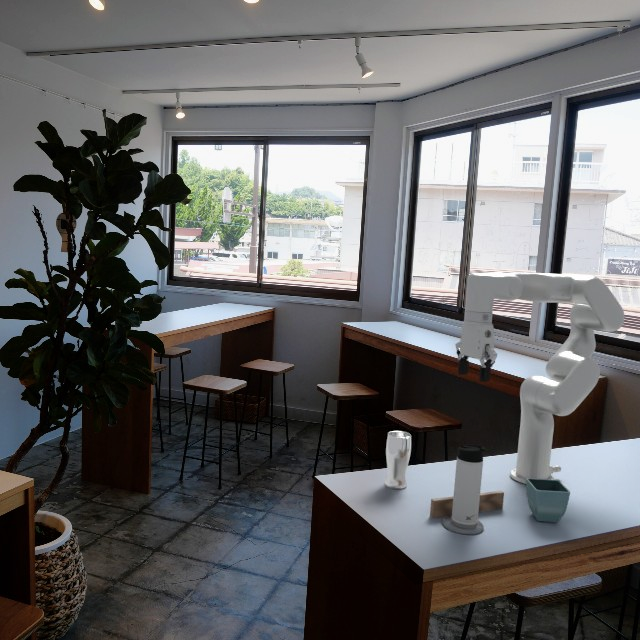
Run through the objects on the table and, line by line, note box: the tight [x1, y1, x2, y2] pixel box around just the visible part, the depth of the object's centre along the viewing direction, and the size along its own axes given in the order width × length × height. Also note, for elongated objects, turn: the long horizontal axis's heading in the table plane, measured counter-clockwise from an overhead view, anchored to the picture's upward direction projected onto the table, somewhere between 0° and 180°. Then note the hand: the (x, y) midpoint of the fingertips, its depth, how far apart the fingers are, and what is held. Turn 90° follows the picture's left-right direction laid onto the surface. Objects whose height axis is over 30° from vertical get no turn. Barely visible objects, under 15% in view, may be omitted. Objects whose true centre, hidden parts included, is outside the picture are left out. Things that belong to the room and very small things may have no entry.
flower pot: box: [525, 478, 571, 523], centre depth 162 cm, size 9×9×9 cm
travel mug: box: [451, 444, 487, 529], centre depth 153 cm, size 6×7×20 cm
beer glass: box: [384, 430, 412, 490], centre depth 178 cm, size 7×7×15 cm
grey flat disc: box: [441, 515, 485, 536], centre depth 155 cm, size 10×10×1 cm
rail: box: [429, 490, 505, 519], centre depth 163 cm, size 22×1×4 cm, turn 113°
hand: (473, 377), depth 177 cm, fingers open, 9 cm apart
